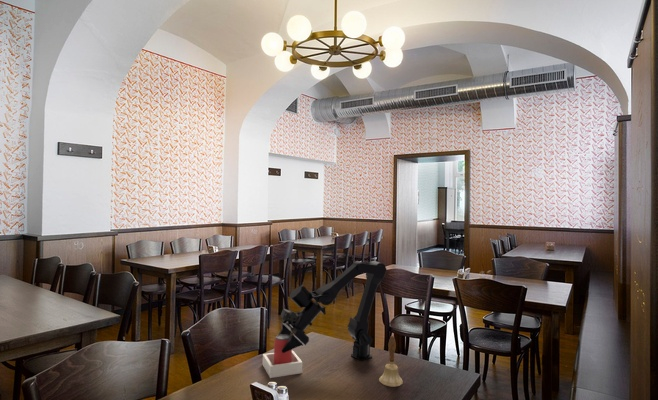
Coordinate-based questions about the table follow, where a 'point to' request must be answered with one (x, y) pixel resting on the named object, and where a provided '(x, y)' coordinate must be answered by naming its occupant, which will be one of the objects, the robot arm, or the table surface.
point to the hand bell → (391, 368)
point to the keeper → (282, 366)
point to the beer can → (278, 346)
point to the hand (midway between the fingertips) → (278, 347)
